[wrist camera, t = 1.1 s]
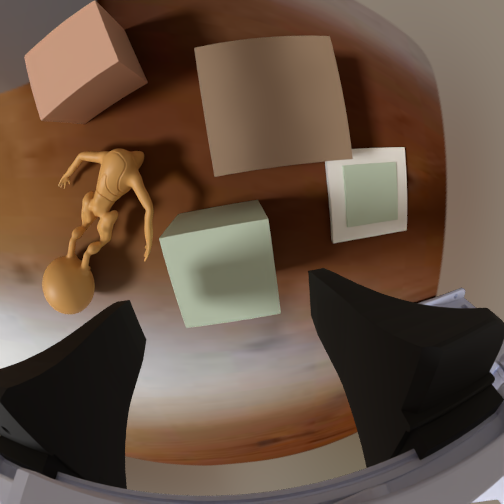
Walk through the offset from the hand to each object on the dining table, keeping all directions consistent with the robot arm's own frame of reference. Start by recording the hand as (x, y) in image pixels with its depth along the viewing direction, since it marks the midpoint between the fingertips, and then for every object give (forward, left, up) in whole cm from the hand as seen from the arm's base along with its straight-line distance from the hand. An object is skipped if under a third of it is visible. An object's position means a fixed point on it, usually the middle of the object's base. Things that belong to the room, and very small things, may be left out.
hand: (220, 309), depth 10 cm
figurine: (+12, +1, -4) cm, 13 cm away
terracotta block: (+6, -13, -8) cm, 16 cm away
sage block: (0, 0, -8) cm, 8 cm away
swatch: (-10, -2, -8) cm, 13 cm away
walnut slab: (-4, -8, -7) cm, 12 cm away
